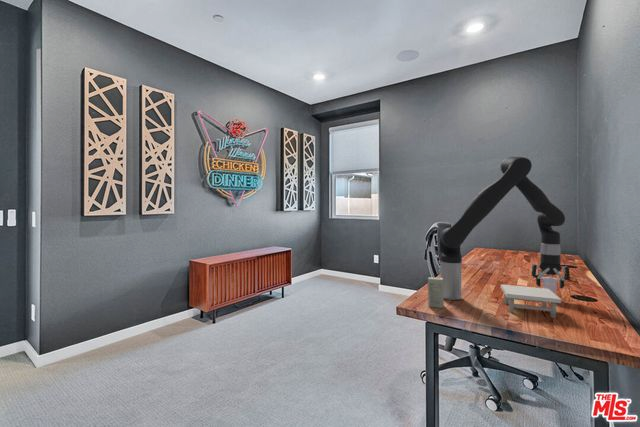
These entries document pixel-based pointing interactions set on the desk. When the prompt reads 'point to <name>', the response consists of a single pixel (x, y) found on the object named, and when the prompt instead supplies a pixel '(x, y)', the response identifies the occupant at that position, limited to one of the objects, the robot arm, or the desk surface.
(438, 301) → the skincare box
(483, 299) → the desk surface
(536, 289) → the footstool
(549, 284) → the smoothie
